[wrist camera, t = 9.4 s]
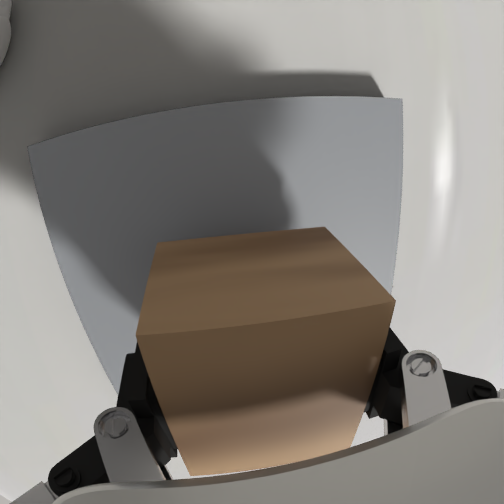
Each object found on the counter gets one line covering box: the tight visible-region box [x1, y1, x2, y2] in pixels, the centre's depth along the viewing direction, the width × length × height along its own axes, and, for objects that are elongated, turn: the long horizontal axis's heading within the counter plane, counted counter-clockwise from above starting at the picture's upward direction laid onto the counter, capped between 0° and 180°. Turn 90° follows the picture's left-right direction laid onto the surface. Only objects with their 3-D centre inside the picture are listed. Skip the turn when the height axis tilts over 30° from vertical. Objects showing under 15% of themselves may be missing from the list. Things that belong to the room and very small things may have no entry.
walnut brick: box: [136, 227, 396, 476], centre depth 11 cm, size 7×6×5 cm
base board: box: [28, 96, 403, 394], centre depth 15 cm, size 16×16×2 cm
